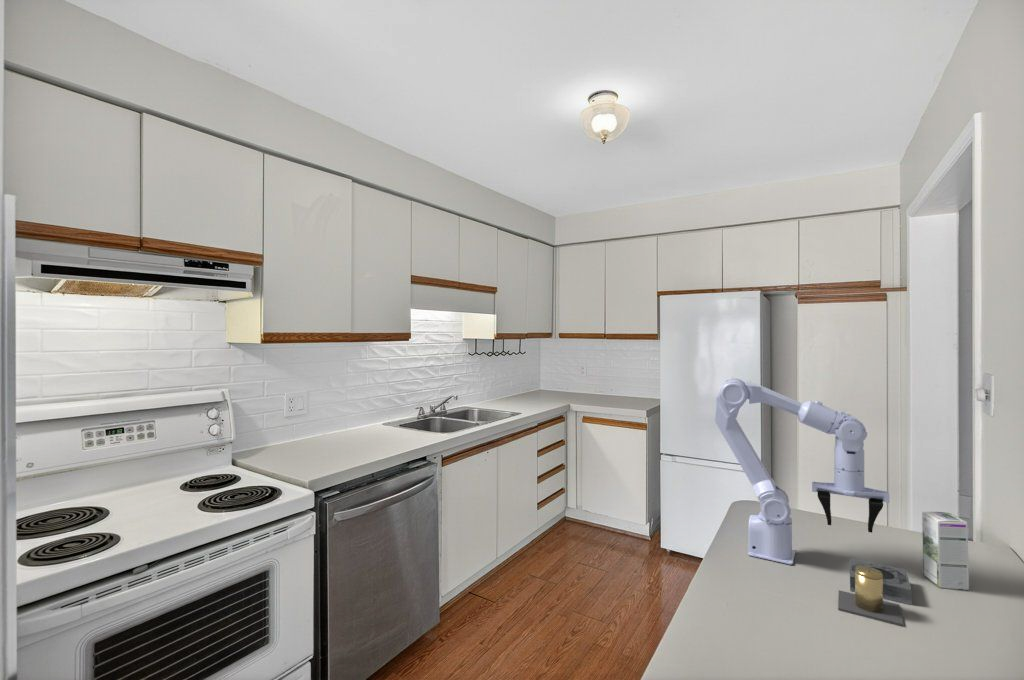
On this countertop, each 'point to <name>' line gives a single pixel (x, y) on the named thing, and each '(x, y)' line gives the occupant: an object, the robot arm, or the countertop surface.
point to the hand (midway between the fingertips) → (849, 527)
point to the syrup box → (945, 550)
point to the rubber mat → (888, 614)
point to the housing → (887, 581)
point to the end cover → (869, 589)
